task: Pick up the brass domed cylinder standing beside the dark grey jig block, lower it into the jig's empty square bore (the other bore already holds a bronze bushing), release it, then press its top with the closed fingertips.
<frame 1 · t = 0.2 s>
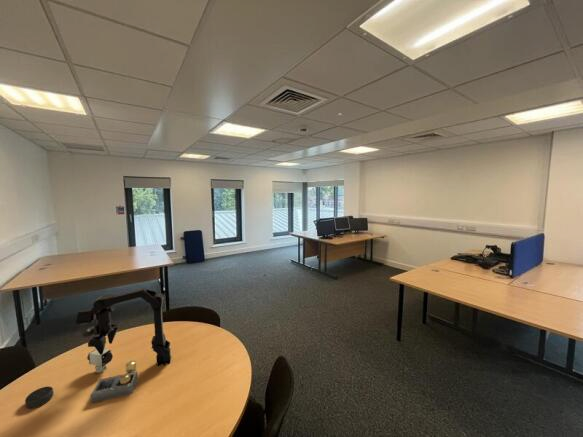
hand: (106, 348, 126), 14 cm above the table, fingers open, 9 cm apart
jig: (116, 390, 117), on the table
smart speaker: (40, 401, 111), on the table
seated bushing: (125, 387, 118), resting in jig
pneumatic valve: (101, 370, 130), on the table
brass domed cylinder: (131, 374, 127), on the table
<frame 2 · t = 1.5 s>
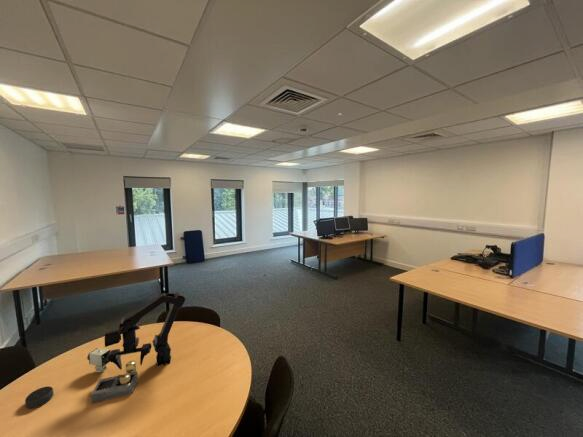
hand: (131, 366, 127), 4 cm above the table, fingers open, 9 cm apart
nothing on the table moved.
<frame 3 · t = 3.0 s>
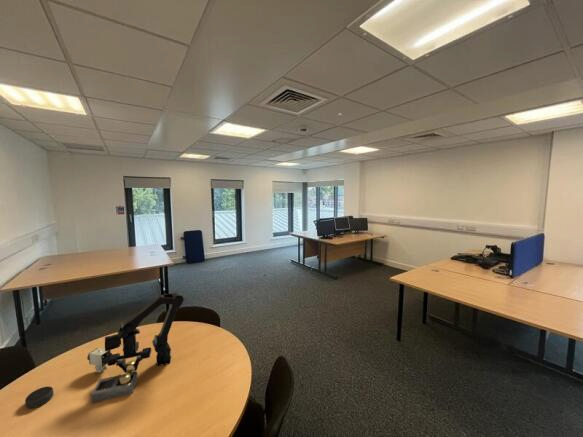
hand: (131, 371, 127), 2 cm above the table, fingers closed on brass domed cylinder, 4 cm apart
brass domed cylinder: (131, 373, 127), on the table, touching gripper
everything else where it was.
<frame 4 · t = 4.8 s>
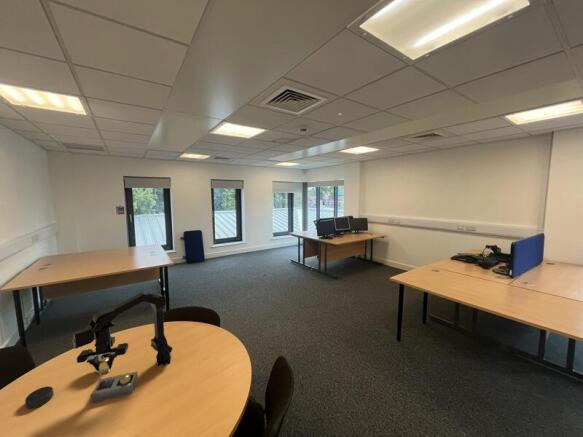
hand: (104, 369, 114), 12 cm above the table, fingers closed on brass domed cylinder, 4 cm apart
brass domed cylinder: (105, 372, 115), point 10 cm above the table, touching gripper
everything else where it was.
when the fingers open (5 cm above the table, at t = 6.8 s): brass domed cylinder drops 3 cm, resting in jig.
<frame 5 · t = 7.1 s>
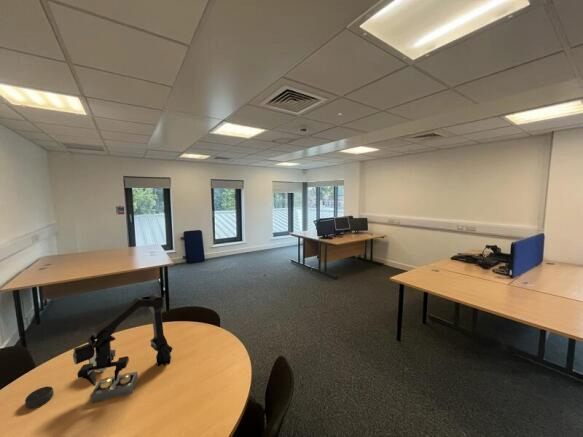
hand: (105, 383, 115), 5 cm above the table, fingers open, 8 cm apart
brass domed cylinder: (106, 392, 115), resting in jig
everything else where it was.
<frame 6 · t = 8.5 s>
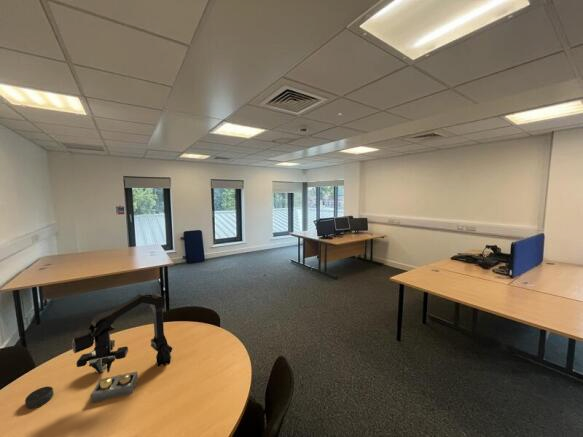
hand: (104, 372, 114), 10 cm above the table, fingers open, 3 cm apart
nothing on the table moved.
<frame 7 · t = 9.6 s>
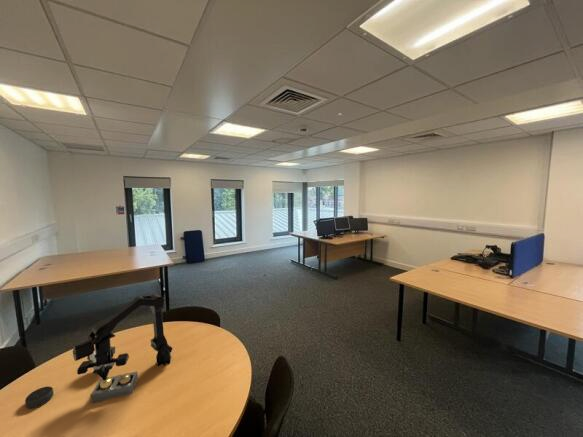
hand: (105, 379, 115), 6 cm above the table, fingers closed
nothing on the table moved.
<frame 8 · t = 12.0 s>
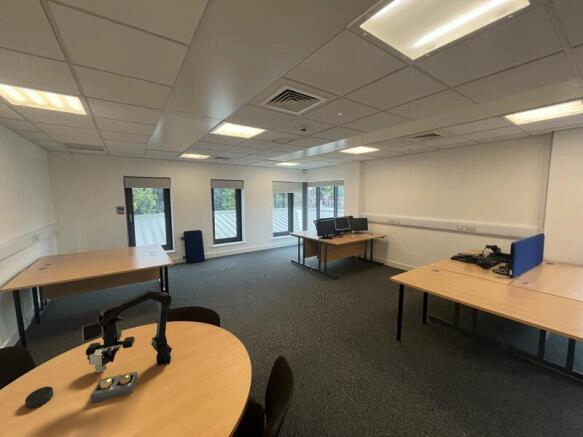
hand: (112, 361, 119), 12 cm above the table, fingers closed
nothing on the table moved.
at the end: brass domed cylinder 0.2 cm from the target spot on the jig, point 0.0 cm above the jig's base; brass domed cylinder tilted 0°; the gripper is holding nothing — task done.
